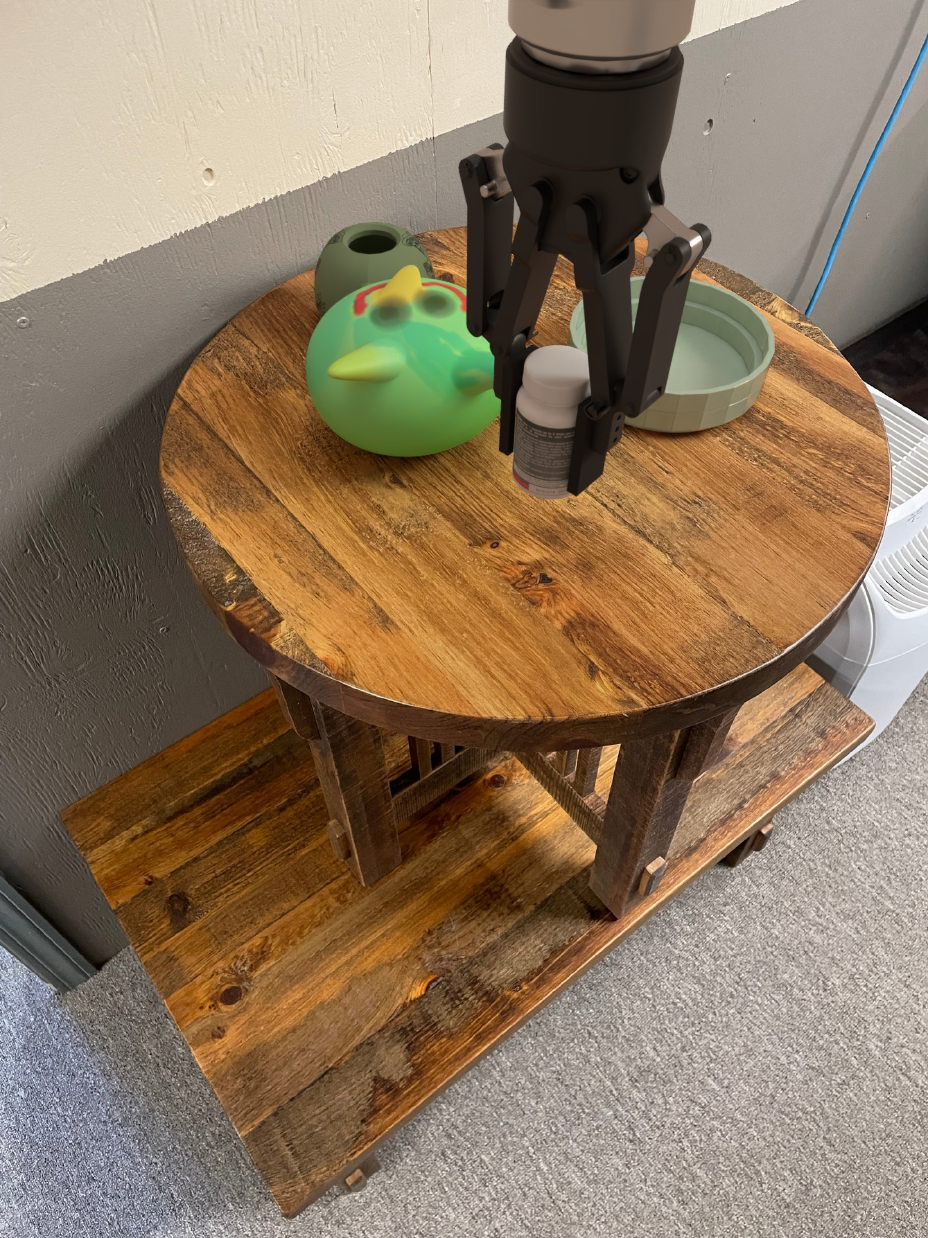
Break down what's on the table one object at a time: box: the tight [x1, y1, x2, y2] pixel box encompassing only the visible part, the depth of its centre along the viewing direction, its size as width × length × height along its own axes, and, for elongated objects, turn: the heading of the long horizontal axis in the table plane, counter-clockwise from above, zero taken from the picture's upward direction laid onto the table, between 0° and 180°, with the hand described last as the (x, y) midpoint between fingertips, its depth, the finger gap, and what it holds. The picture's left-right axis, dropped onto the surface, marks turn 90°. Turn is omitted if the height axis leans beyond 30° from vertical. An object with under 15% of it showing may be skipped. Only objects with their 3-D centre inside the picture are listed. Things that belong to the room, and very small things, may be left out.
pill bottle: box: [511, 344, 591, 501], centre depth 52 cm, size 5×5×8 cm
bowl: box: [566, 275, 776, 434], centre depth 84 cm, size 19×19×5 cm
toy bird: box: [305, 265, 501, 458], centre depth 74 cm, size 18×17×15 cm
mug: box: [313, 221, 436, 320], centre depth 87 cm, size 16×13×9 cm
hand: (550, 461), depth 54 cm, fingers closed on pill bottle, 5 cm apart
